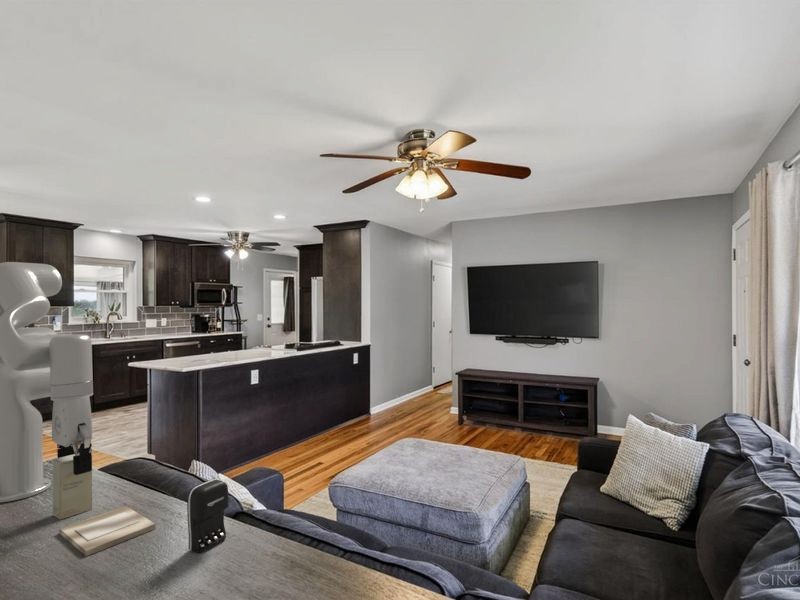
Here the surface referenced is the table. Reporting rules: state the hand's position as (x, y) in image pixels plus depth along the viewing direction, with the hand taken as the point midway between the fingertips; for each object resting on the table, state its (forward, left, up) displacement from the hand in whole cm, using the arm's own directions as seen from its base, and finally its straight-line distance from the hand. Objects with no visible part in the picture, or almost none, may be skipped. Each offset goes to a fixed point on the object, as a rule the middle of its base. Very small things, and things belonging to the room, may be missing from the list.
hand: (74, 468), depth 97 cm
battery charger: (+37, +10, -10) cm, 40 cm away
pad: (+15, +1, -10) cm, 18 cm away
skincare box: (-1, 0, -10) cm, 10 cm away
